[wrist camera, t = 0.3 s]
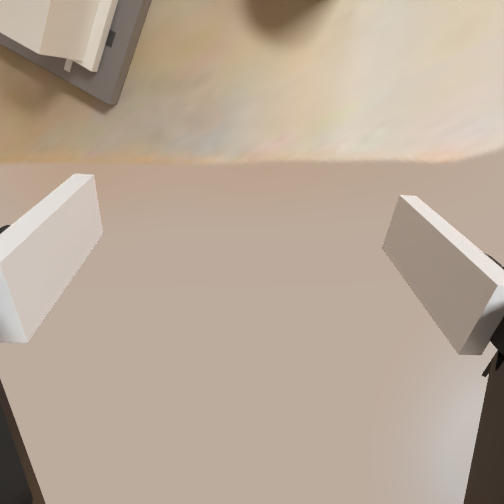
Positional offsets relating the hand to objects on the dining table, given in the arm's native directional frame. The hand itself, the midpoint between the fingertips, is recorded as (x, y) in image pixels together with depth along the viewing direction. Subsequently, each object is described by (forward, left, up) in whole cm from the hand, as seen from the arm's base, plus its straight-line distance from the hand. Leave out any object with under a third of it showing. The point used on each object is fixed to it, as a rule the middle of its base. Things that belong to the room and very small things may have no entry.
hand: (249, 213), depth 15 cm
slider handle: (-5, -21, -24) cm, 33 cm away
